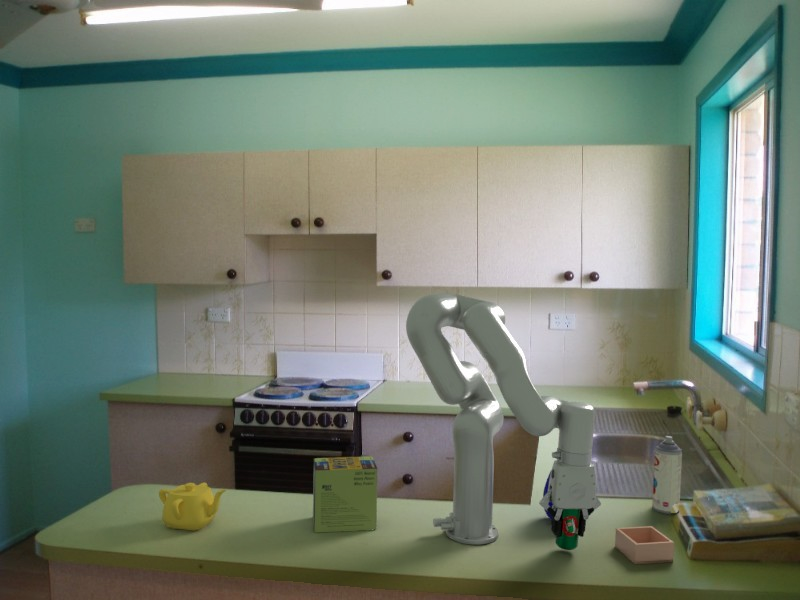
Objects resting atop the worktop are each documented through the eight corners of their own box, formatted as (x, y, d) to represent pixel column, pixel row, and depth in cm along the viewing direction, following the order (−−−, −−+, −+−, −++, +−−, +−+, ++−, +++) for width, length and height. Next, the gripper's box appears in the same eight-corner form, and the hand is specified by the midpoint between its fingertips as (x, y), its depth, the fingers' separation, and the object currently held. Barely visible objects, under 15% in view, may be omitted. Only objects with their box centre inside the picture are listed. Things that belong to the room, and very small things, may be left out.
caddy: (635, 564, 151) (636, 544, 151) (614, 546, 160) (615, 528, 160) (673, 561, 153) (674, 542, 152) (650, 544, 162) (651, 526, 162)
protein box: (377, 530, 167) (378, 468, 166) (313, 533, 165) (314, 470, 163) (371, 514, 177) (373, 455, 176) (312, 517, 175) (312, 457, 174)
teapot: (212, 511, 177) (212, 472, 177) (227, 528, 166) (227, 487, 166) (157, 520, 171) (157, 480, 170) (168, 539, 159) (168, 496, 159)
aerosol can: (652, 503, 189) (656, 432, 188) (679, 507, 187) (682, 435, 185) (651, 511, 183) (654, 438, 182) (679, 515, 180) (682, 441, 179)
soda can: (561, 539, 160) (565, 489, 159) (581, 546, 157) (585, 495, 156) (551, 545, 157) (555, 495, 156) (571, 553, 153) (575, 501, 152)
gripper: (545, 462, 150) (538, 542, 151) (616, 462, 153) (609, 541, 155) (532, 451, 157) (526, 528, 159) (601, 452, 160) (594, 527, 162)
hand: (567, 533), depth 157 cm, fingers closed on soda can, 4 cm apart
